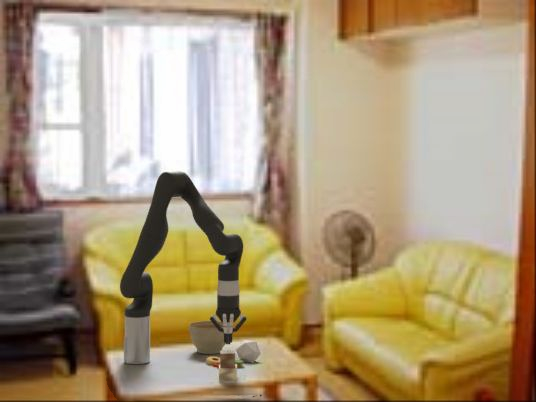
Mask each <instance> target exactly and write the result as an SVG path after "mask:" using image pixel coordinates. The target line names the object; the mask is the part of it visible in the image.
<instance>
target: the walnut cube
mask: <svg viewBox="0 0 536 402" xmlns="http://www.w3.org/2000/svg"><path fill="white" fill-rule="evenodd" d="M219 358H220V368H235V358H236V349H222V350H221V351H220V353H219Z"/></svg>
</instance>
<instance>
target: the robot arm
mask: <svg viewBox="0 0 536 402" xmlns="http://www.w3.org/2000/svg"><path fill="white" fill-rule="evenodd" d="M172 198H181V199H182V200H183V201H185V202H186V203H187V204H188V206H189V207H190V210H191V214H192V218H193V221H194V222H195V223H196V225H197V226H198V227H199V228H200V230H201V231H202V232H203V233H204V234H205V236H206V238H207V239H208V242H209V244H210V246H211V248H212V249H213V250H214V252H215V253H216V254H217V255H220V256H222V257H224V256H225V257H224V260H223V261H222V262H220V263H219V264H218V266H217V287H216V291H217V293H216V300H217V301H216V303H217V304H216V305H217V306H216V311H215V313H214V314H213V315H210V317H209V321H211V322H212V323H213V324H214V325H215V327H216V328H217V329H218V330H219V331H220V332H223V333H224V343H226V344H225V345H231V343H232V342H233V334H234V333H236V332H238V331H239V329H240V328H241V327H242V326H243V325H244V324H245V322H246V321H247V316H246V315H244V314H242V313H241V312H242V311H241V309H240V290H241V289H240V282H239V281H240V278H239V277H240V274H239V273H240V271H239V270H240V269H239V268H240V264H241V261H242V256H243V253H244V242H243V241H244V240H243V238H242V237H241V236H240V235H239V234H238V233H228V234H225V233H224V229H225V225H224V223H223V222H222V220H221V219H220V218H219V217H218V216H217V214H216V213H215V212H214V211H213V209H211V208H210V206H209V205H208V203H206V201H205V199H204V198H203V196H202V194H200V192H199V190H198V189H197V186H195V183H194V182H193V180H192V179H191V178H190V176H189V175H188V174H187V172H185V171H182V170H181V171H180V170H171V171H170V170H168V171H164V172H162V173H160V174H159V176H158V177H157V181H156V183H155V187H154V191H153V195H152V199H151V203H150V205H149V209H148V212H147V214H146V217H145V221H144V224H143V226H142V229H141V230H140V231H141V232H140V233H139V236H138V240H137V243H136V245H135V248H134V251H133V253H132V256H131V257H130V261H129V262H128V265H127V266H126V269H125V270H124V272H123V274H122V276H121V279H120V283H119V291H120V294H121V295H122V297H124V298H126V299H132V301H131V303H129V305H127V306H126V307H125V309H124V337H123V364H128V365H129V364H130V365H143V364H147V363H149V362H151V311H152V307H153V296H154V295H153V294H154V292H153V291H154V284H153V278H152V276H151V274H150V273H148V272H147V271H145V270H146V268H147V267H148V266H149V264H150V263H151V262H152V261H153V260H154V259H155V258H156V257H157V255H159V253H160V252H161V251H162V249H163V247H164V245H165V243H166V239H167V237H168V233H169V223H168V218H167V213H168V207H169V204H170V202H171V201H172ZM238 318H239V319H238ZM218 319H219V321H221V322H222V323H223V327H224V328H222V327H221V326H220V324H219V323H218V322H217V321H218ZM237 320H238V323H237V324H236V325H235V326H234V323H235V322H236V321H237ZM227 323H230V324H229V332H228V329H227Z"/></svg>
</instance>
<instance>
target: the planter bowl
mask: <svg viewBox="0 0 536 402" xmlns="http://www.w3.org/2000/svg"><path fill="white" fill-rule="evenodd" d="M217 322H218V323H219V324H220V326H221V327H222V328H224V327H223V323H222V322H221V321H220V320H217ZM229 324H230V323H227V329H228V332H229ZM188 328H189V329H188V330H189V336H190V340H191V342H192V344H193V346H194V347H195V348H196V351H197V353H199V354H204V355H215V354H219V353H218V352H220V351H221V350H223V348H224V347H225V345H227V344H226V343H224V333H223V332H220V331H219V330H218V329H217V328H216V327H215V325H214V324H213V323H212V322H211V320H203V321H202V320H200V321H194V322H189V324H188Z"/></svg>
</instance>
